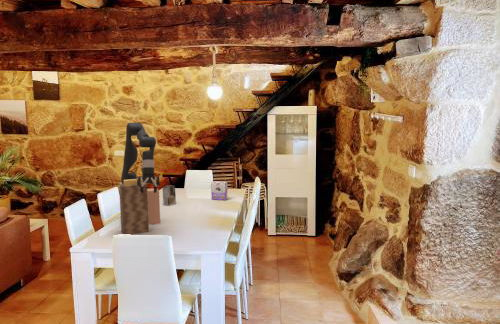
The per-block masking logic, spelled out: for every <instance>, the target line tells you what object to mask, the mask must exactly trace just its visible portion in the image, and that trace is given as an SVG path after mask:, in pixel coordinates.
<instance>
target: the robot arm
mask: <svg viewBox="0 0 500 324" xmlns="http://www.w3.org/2000/svg"><path fill="white" fill-rule="evenodd" d="M125 132H126V133H125V146H124V153H123V154H124V155H123V166H122V172H121V176H120V181H121V183H120V184H124V180H130V179H137V186H140V192H141V193H144V189H143V186H144V184H145V183H147V184H151V185H152V186H153V188H154V193H156V192H157V189H158V187H159V186H160V182H161V181H160V176H159V175H158V176H155V161H154V160H155V159H154V157H155V156H154V152H155V149H156V145H157V139H156V138H155V136H149V134H148V133H147V132H146V130H145V127H144V125H143V124H142V123H140V122H128V123H126V129H125ZM132 136H133V137H134V136H136V138H137V141H138V145H139V147H141V148H147V149H148V148H149V150H145V151H142V153H141V155H142V156H141V162H142V163H141V175H142V176H141V175H140V176H137V174H136V172H130V170H131V168H132V167H133V166H134V165H135V163H136V161H138V154H139V153H138V152H139V151H138V148H137V146H136V145H135V143H134V142H133V140H132ZM141 179H142V180H143V182H142V183H141V184H140V181H141ZM154 179H155V180H156V183H155V181H154Z"/></svg>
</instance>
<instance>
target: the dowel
mask: <svg viewBox="0 0 500 324" xmlns="http://www.w3.org/2000/svg"><path fill="white" fill-rule="evenodd" d="M154 181H155V183H156V180H155V179H154ZM142 182H143V180H142V179H141V181H140V184H141V183H142ZM136 184H137V179H130V180H124V185H136ZM145 184H147V185H148V183H145Z"/></svg>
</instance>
